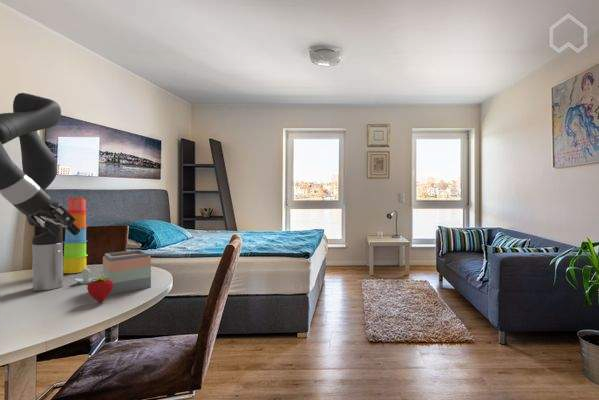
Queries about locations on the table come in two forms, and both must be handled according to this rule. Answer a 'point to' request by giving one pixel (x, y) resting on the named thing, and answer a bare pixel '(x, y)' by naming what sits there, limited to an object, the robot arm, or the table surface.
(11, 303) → the table surface
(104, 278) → the strawberry
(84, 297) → the table surface
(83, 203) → the stacking cups
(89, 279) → the pacifier
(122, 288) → the pastel striped block
